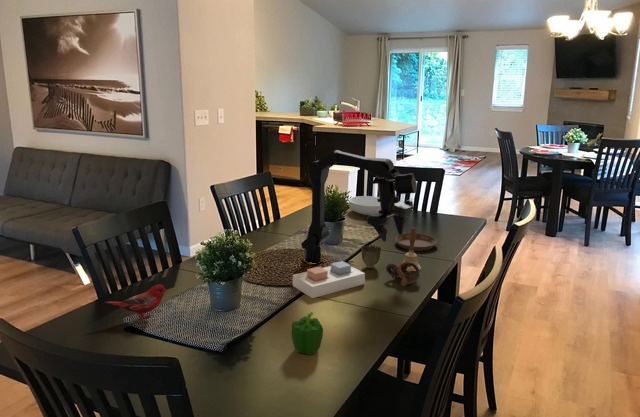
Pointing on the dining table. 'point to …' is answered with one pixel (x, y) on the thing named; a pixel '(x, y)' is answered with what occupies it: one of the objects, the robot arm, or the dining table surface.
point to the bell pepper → (307, 334)
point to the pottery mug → (403, 272)
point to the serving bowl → (365, 205)
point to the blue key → (340, 268)
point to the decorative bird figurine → (143, 301)
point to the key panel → (328, 282)
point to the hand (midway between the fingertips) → (392, 237)
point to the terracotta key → (317, 274)
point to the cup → (370, 255)
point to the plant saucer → (416, 241)
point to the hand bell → (412, 251)
